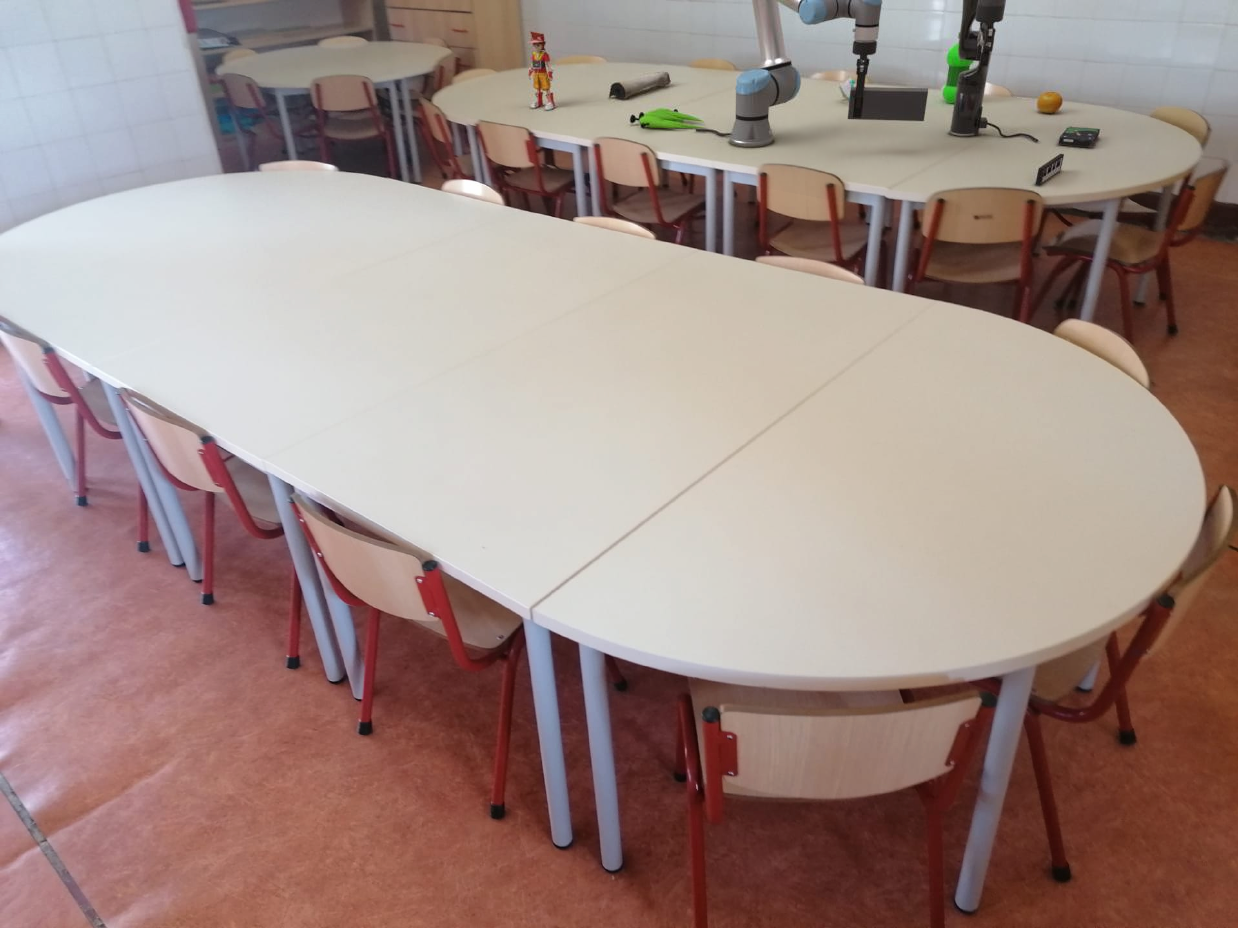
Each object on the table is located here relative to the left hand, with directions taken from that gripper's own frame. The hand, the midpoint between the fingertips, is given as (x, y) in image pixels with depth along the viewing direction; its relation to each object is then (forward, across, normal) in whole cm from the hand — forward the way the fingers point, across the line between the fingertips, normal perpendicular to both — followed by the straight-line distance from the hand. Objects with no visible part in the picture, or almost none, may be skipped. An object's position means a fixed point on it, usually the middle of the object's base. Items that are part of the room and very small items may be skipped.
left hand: (857, 115), depth 302 cm
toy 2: (+13, -28, -71) cm, 77 cm away
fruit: (+11, -55, +68) cm, 88 cm away
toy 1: (+14, -53, -132) cm, 143 cm away
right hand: (-21, +20, +35) cm, 45 cm away
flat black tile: (+11, +25, +60) cm, 65 cm away
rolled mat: (+14, -82, -96) cm, 127 cm away
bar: (+1, 0, +9) cm, 9 cm away
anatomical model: (+12, -67, -4) cm, 69 cm away
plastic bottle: (+12, -69, +35) cm, 79 cm away
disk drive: (+11, -16, +73) cm, 76 cm away
